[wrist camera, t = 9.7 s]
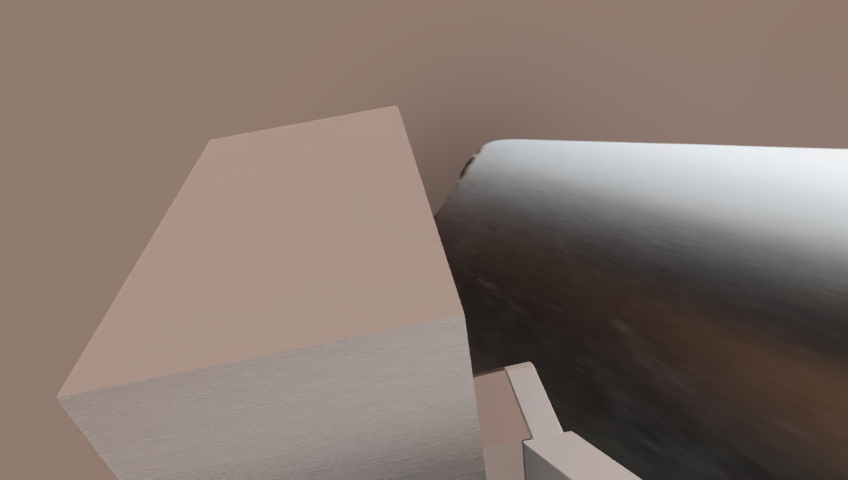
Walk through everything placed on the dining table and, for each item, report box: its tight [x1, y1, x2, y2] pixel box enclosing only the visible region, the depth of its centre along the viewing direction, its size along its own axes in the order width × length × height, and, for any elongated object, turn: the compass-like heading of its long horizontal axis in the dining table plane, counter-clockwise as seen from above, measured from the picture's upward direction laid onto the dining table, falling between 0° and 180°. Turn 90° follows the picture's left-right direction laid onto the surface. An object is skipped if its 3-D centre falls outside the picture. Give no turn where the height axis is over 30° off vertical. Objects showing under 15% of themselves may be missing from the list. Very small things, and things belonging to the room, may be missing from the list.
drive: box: [56, 105, 487, 480], centre depth 10 cm, size 3×6×11 cm, turn 8°
